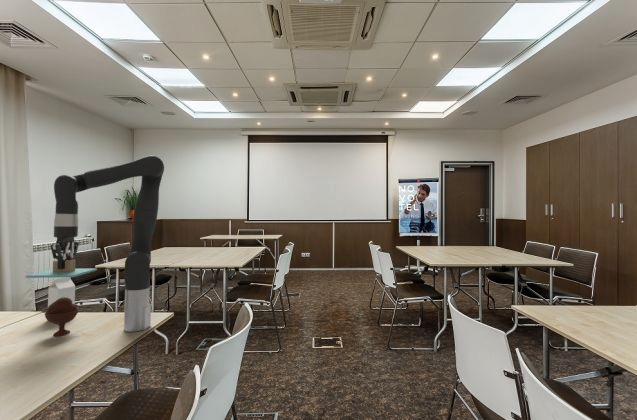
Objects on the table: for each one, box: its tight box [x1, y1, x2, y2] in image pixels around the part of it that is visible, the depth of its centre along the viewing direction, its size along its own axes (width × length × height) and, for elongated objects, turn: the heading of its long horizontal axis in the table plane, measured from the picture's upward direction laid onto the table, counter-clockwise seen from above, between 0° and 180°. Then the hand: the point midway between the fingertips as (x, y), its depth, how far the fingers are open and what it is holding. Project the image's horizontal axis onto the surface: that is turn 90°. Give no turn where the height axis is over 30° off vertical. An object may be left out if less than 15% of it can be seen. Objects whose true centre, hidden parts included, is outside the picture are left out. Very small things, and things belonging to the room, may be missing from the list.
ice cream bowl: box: [44, 297, 80, 337], centre depth 128 cm, size 11×11×15 cm
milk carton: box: [47, 277, 76, 308], centre depth 146 cm, size 7×7×19 cm
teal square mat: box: [25, 259, 98, 279], centre depth 125 cm, size 16×16×5 cm
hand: (64, 268), depth 125 cm, fingers closed on teal square mat, 3 cm apart
